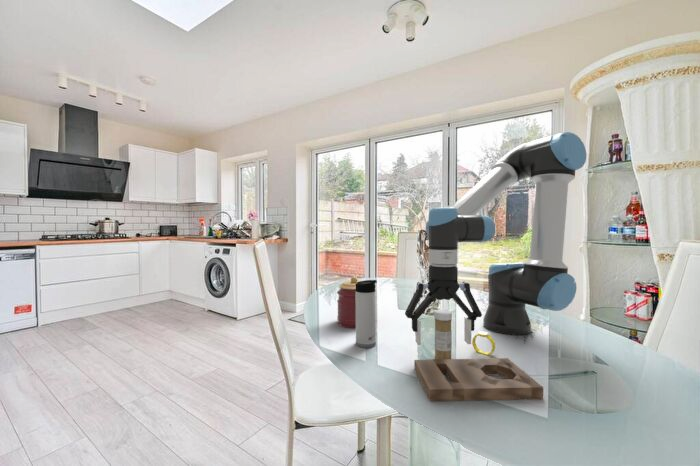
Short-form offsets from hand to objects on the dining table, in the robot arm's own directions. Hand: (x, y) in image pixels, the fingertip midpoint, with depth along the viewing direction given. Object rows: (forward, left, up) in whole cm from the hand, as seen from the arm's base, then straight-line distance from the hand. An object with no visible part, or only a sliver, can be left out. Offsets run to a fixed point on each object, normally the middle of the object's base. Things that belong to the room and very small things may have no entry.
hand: (442, 342), depth 82 cm
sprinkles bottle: (0, 0, -5) cm, 5 cm away
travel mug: (+20, -12, -5) cm, 24 cm away
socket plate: (-3, +12, -5) cm, 13 cm away
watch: (-13, -4, -5) cm, 14 cm away
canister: (+23, -33, -5) cm, 41 cm away
